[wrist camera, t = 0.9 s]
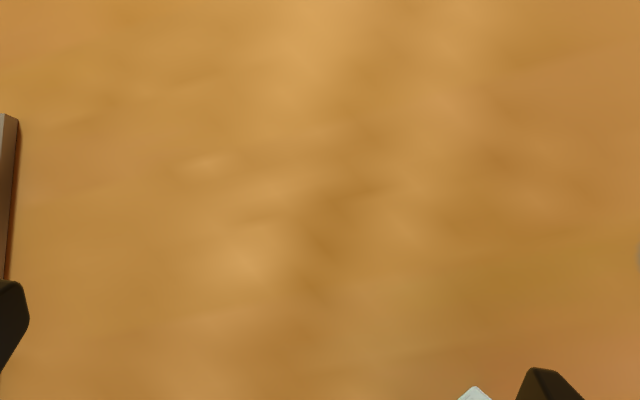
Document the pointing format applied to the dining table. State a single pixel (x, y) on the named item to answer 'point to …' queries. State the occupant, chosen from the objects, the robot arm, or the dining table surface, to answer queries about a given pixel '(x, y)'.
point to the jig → (6, 178)
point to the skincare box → (474, 395)
